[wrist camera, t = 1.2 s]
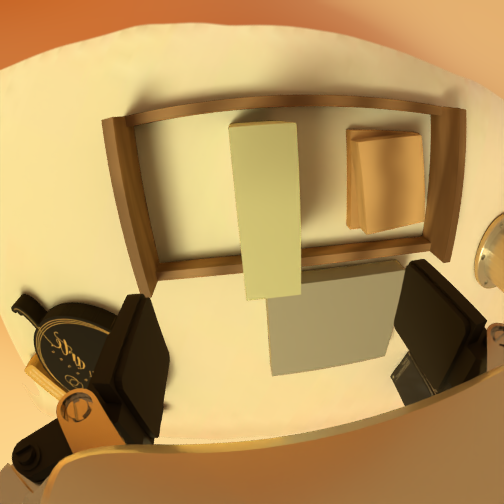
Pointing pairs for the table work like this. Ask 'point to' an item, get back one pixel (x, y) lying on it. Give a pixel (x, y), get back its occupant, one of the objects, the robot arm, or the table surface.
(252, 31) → the table surface
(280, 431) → the table surface
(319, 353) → the grey board
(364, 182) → the upper offcut
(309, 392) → the table surface
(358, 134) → the block
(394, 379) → the small box
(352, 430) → the robot arm
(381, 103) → the frame
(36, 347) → the decorative sign
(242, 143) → the pale green block
